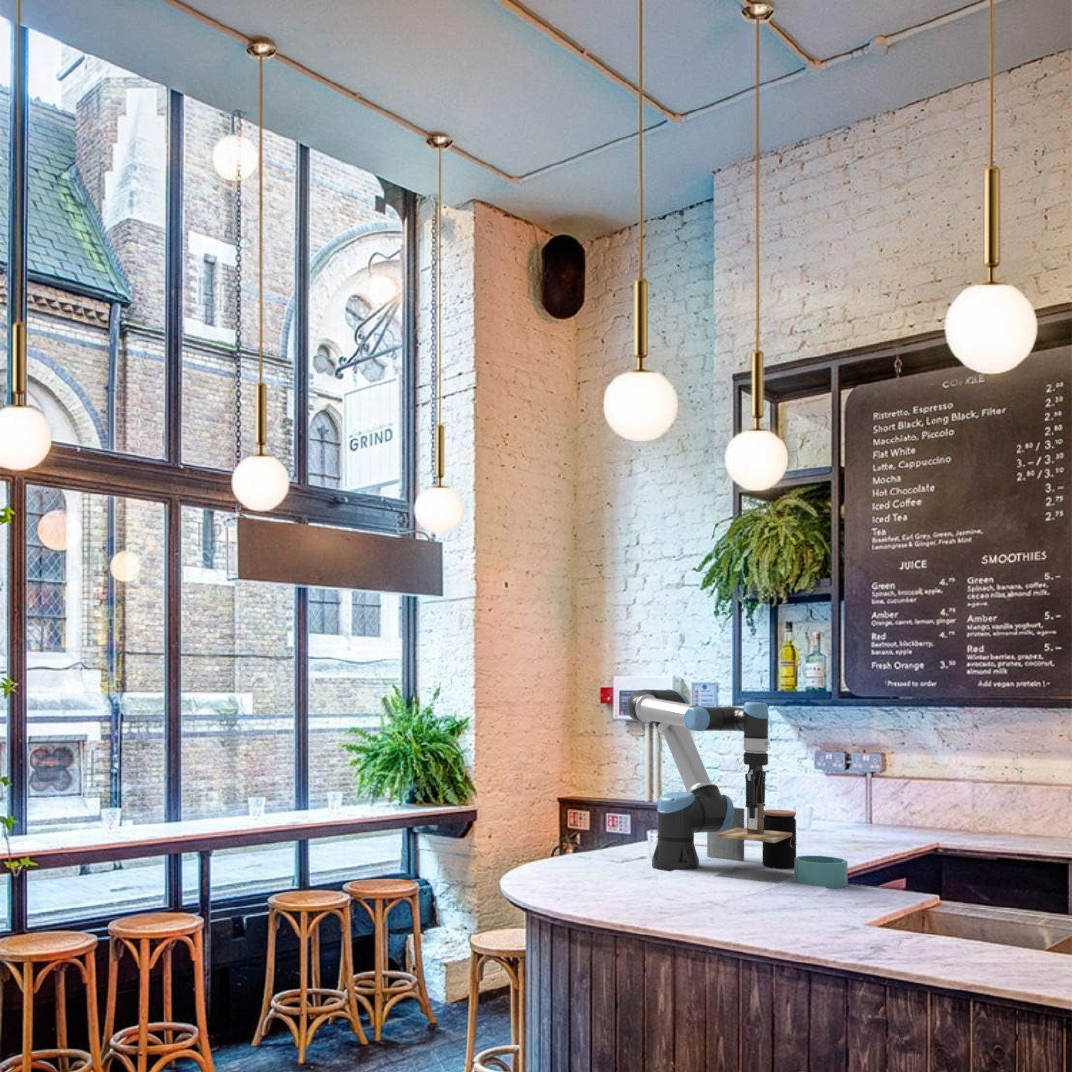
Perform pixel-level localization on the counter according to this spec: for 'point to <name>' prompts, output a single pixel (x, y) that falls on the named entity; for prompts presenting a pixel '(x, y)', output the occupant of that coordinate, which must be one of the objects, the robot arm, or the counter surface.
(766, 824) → the coffee jar
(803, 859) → the teal bowl
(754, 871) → the rubber mat
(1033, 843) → the counter surface
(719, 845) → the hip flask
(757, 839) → the oak cover
